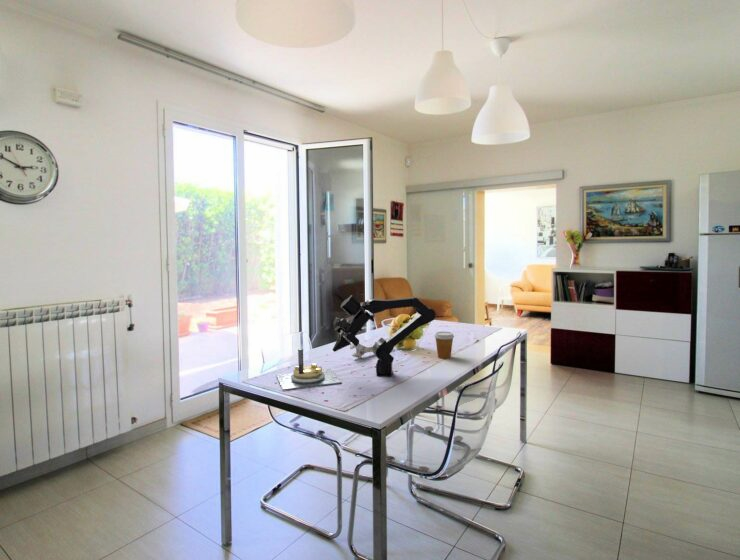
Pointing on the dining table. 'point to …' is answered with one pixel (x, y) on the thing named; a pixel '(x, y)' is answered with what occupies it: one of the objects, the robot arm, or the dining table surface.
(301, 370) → the brass chuck with rod
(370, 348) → the wrench
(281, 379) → the gray metal base plate
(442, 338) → the disposable coffee cup
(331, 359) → the dining table surface
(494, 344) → the dining table surface
